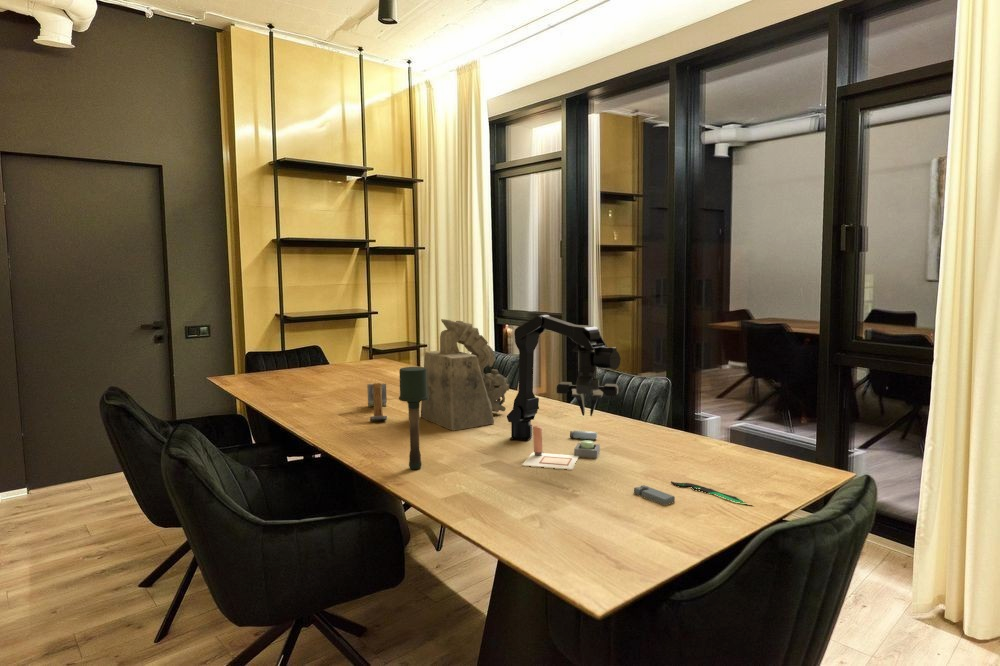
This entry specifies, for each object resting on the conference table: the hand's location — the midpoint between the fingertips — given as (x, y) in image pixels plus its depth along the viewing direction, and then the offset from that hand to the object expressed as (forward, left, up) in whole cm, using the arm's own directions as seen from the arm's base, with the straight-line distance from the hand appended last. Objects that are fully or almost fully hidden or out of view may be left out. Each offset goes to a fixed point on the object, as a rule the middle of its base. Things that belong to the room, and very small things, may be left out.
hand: (587, 415), depth 192 cm
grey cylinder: (-4, +17, -11) cm, 20 cm away
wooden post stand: (-92, +34, -13) cm, 99 cm away
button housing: (0, 0, -12) cm, 12 cm away
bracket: (+22, -33, -13) cm, 41 cm away
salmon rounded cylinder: (-15, -6, -12) cm, 20 cm away
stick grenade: (-47, -27, -13) cm, 56 cm away
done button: (0, 0, -11) cm, 11 cm away
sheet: (-10, -10, -12) cm, 19 cm away
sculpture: (-51, +37, -13) cm, 64 cm away
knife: (+36, -26, -13) cm, 46 cm away
